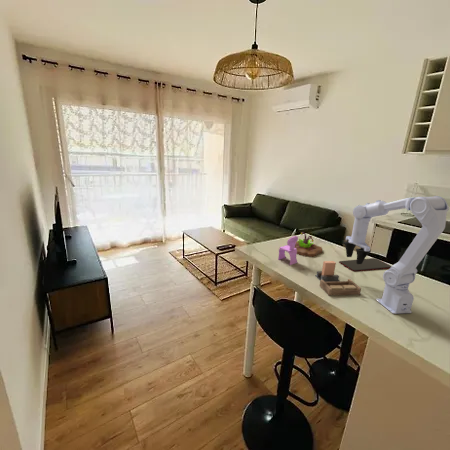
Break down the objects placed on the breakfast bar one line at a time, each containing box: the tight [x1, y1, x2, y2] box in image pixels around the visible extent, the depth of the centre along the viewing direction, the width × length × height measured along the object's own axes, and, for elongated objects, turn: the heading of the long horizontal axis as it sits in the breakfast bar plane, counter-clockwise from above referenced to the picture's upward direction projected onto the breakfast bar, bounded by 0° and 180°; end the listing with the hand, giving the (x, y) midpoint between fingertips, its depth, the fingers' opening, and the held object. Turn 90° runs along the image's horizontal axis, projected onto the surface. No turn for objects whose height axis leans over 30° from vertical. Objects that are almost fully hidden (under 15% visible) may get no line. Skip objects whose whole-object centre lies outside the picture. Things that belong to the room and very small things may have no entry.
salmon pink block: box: [321, 260, 337, 275], centre depth 117 cm, size 2×5×8 cm, turn 97°
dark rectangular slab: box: [338, 257, 392, 273], centre depth 135 cm, size 12×2×25 cm
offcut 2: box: [342, 285, 356, 290], centre depth 107 cm, size 2×5×3 cm, turn 97°
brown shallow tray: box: [319, 278, 362, 296], centre depth 108 cm, size 8×14×3 cm, turn 97°
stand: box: [314, 270, 340, 282], centre depth 118 cm, size 6×9×2 cm, turn 97°
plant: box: [288, 231, 323, 258], centre depth 152 cm, size 20×20×11 cm
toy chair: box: [277, 235, 299, 266], centre depth 134 cm, size 8×9×15 cm
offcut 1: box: [329, 285, 343, 290], centre depth 106 cm, size 2×5×3 cm, turn 97°
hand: (353, 260), depth 114 cm, fingers open, 7 cm apart
